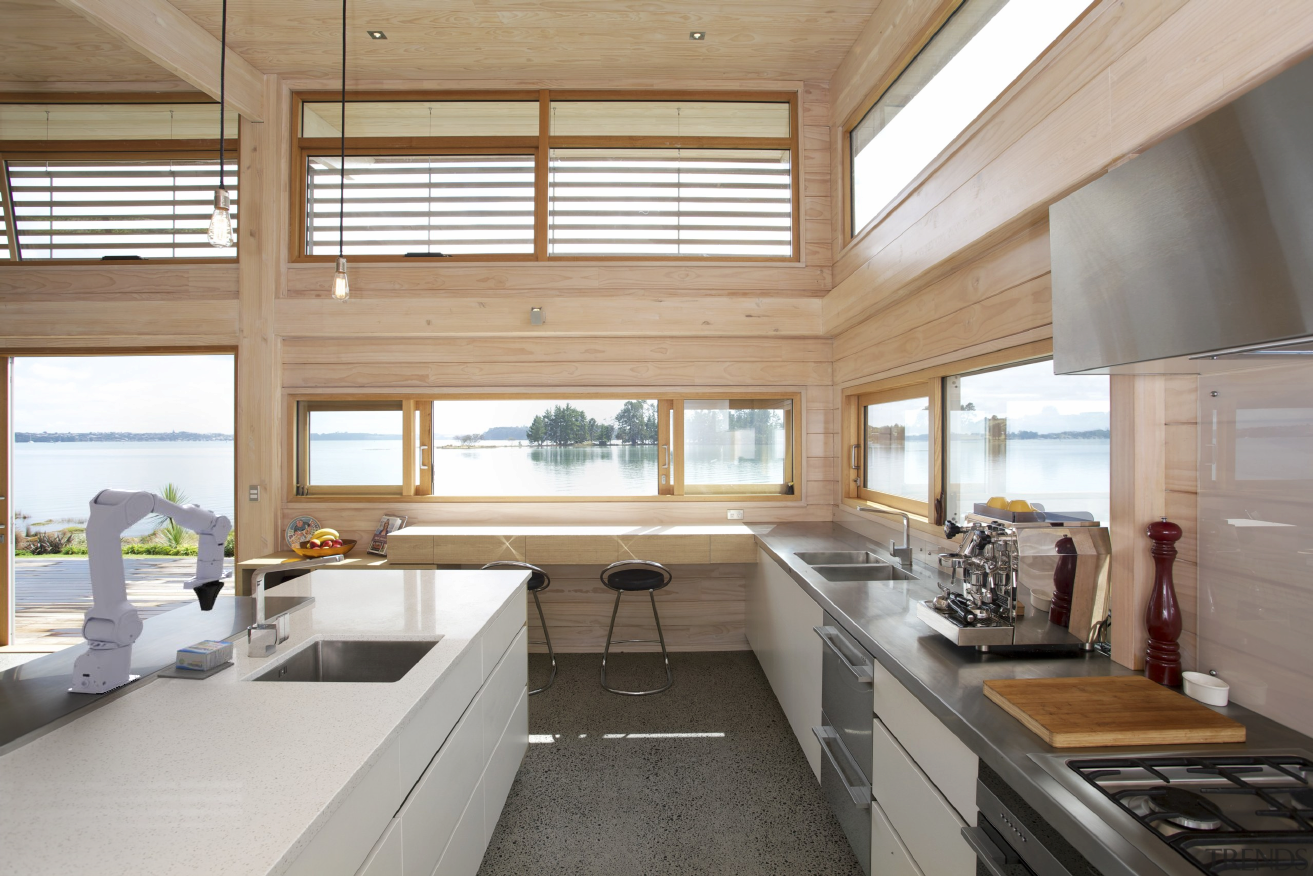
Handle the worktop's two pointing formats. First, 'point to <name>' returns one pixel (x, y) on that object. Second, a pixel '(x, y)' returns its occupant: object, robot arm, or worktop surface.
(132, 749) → the worktop surface
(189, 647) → the medicine box
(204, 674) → the grey rubber pad
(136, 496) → the robot arm
